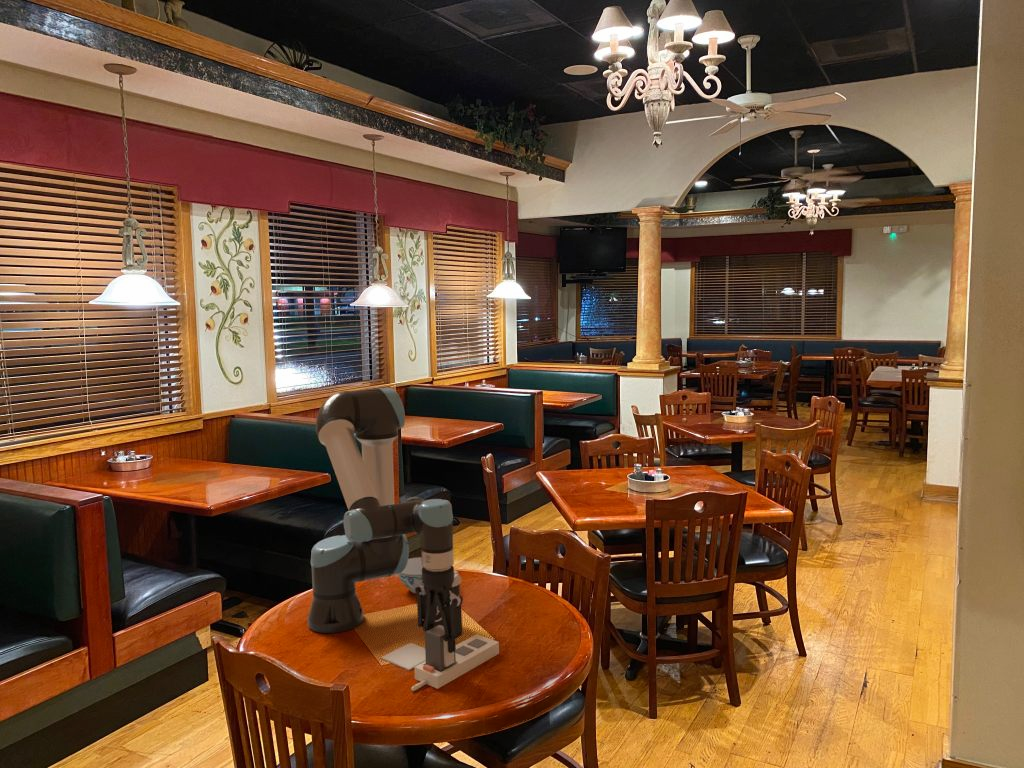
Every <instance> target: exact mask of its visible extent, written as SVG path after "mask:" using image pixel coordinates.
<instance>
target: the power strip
mask: <svg viewBox="0 0 1024 768" xmlns="http://www.w3.org/2000/svg"><path fill="white" fill-rule="evenodd" d="M499 654H500V642H499V641H497V640H495V639H491V638H489V637H485V636H482V635H480V634H475V635H473V636H470V637H468V638H466V639H464V640H463V641H461V642H460V643H458V644H456V650H455V658H456V664H455V665H453V666H451V667H449V668H448V669H446V670H444V671H442V672H439V671H437V670H434V667H432V666H430V665H427V664H426V661H425V662H423V663H421V664H419V665H417V666H416V667H415V668H414V680H416V681H419V683H416V684H414V685H413V686H412V687H411V691H412V692H415V691H417V690H419V689H420V688H422V687H424V686H425V685H428V686H430V687H432V688H435V689H437V690H438V689H440V688H441V687H443V686H446V685H447V684H449V683H450V682H452V681H454V680H455V679H458V678H459V677H461V676H462V675H464V674H466V673H468V672H470V671H472V670H474V668H476V667H479V666H480V665H482V664H483V663H485V662H487V661H489V660H491V659H492V658H494V657H495V656H497V655H499Z"/></svg>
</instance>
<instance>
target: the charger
mask: <svg viewBox="0 0 1024 768" xmlns="http://www.w3.org/2000/svg"><path fill="white" fill-rule="evenodd" d="M450 634H451V633H450ZM445 638H446V635H445V631H444V626H442V625H438V626H436V627H434V628H432V629H430V630H428V631H426V632H424V648H425V655H426V664H427V665H430V666H432V667H434V670H437V671H439V672H442V671H444V670H446V669H448V668H449V667H451V666H453V665H455V664H456V658H455V651H454V663H453V664H451V665H449V666H447V667H446V666H444V641H443V639H445Z"/></svg>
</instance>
